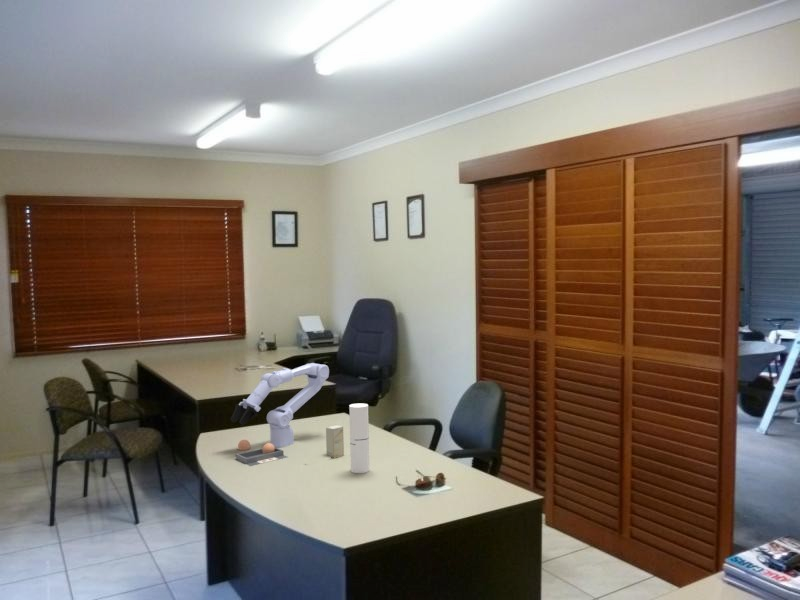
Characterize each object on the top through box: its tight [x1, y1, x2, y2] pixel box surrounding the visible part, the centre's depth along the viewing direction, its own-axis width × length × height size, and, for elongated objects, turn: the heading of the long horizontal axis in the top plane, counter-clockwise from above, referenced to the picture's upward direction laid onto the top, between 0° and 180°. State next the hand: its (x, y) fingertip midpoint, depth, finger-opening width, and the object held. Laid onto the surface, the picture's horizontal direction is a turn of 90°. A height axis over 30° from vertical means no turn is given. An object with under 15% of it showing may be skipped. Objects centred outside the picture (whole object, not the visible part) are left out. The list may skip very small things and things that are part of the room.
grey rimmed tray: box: [235, 447, 288, 467], centre depth 258 cm, size 17×13×3 cm
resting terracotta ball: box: [261, 442, 275, 454], centre depth 262 cm, size 5×5×5 cm
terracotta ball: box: [237, 439, 251, 452], centre depth 272 cm, size 5×5×5 cm
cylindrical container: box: [348, 402, 370, 474], centre depth 243 cm, size 7×7×25 cm
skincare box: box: [325, 424, 345, 459], centre depth 262 cm, size 6×4×12 cm
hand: (236, 422), depth 263 cm, fingers open, 7 cm apart
